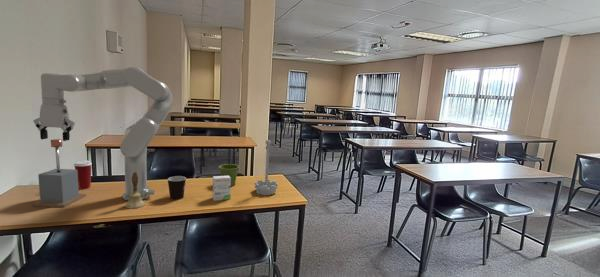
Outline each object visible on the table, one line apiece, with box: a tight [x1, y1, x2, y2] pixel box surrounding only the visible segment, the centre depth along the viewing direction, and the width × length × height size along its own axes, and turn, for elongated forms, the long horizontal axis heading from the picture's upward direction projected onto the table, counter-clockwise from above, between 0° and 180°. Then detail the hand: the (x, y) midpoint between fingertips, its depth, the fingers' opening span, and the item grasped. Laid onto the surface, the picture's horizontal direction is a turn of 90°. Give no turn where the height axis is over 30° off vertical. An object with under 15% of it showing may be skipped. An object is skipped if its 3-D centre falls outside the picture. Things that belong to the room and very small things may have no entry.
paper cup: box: [73, 160, 93, 190], centre depth 157 cm, size 8×8×14 cm
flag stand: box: [254, 139, 279, 196], centre depth 167 cm, size 13×13×30 cm
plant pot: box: [218, 163, 240, 187], centre depth 177 cm, size 12×12×11 cm
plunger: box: [50, 138, 63, 173], centre depth 136 cm, size 7×7×18 cm
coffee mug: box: [167, 175, 187, 201], centre depth 153 cm, size 12×9×10 cm
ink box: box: [212, 175, 232, 202], centre depth 154 cm, size 9×5×12 cm, turn 113°
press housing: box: [31, 168, 87, 208], centre depth 138 cm, size 14×14×14 cm
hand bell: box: [124, 172, 146, 210], centre depth 138 cm, size 8×8×16 cm
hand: (55, 139), depth 135 cm, fingers open, 9 cm apart
